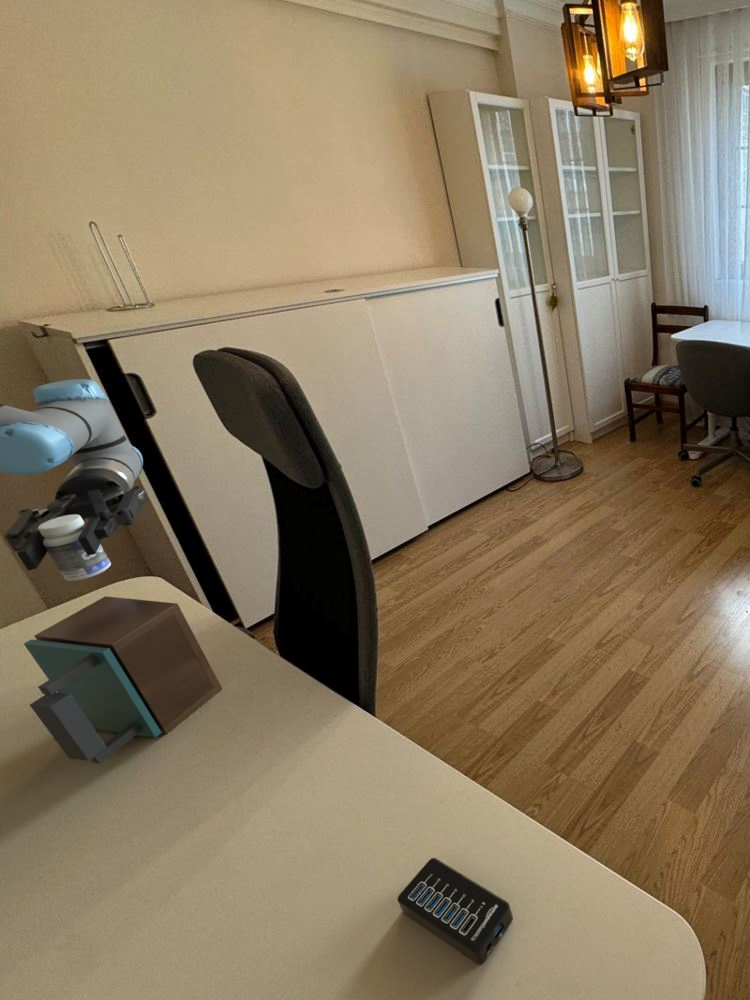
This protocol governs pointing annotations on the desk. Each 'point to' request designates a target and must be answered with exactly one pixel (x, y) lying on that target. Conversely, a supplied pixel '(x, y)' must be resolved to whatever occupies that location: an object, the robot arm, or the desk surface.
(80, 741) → the door
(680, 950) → the desk surface
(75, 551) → the pill bottle
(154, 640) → the cabinet
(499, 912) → the multiport hub
